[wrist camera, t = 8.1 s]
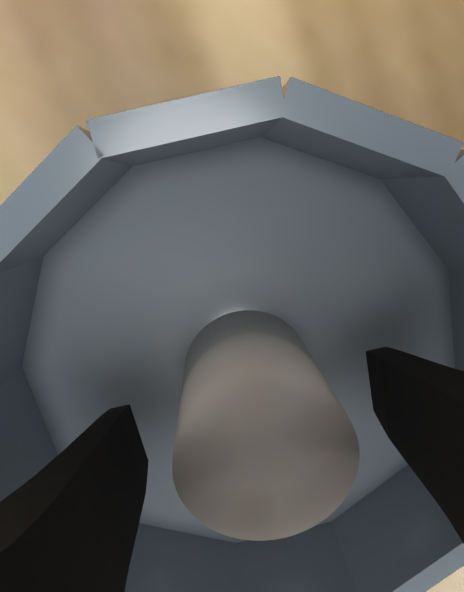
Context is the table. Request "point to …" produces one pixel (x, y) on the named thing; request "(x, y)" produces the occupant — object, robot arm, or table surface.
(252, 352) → the pebble
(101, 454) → the robot arm
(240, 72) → the table surface
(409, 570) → the bowl
